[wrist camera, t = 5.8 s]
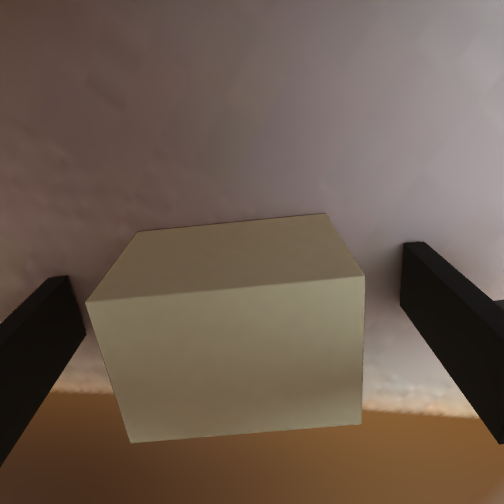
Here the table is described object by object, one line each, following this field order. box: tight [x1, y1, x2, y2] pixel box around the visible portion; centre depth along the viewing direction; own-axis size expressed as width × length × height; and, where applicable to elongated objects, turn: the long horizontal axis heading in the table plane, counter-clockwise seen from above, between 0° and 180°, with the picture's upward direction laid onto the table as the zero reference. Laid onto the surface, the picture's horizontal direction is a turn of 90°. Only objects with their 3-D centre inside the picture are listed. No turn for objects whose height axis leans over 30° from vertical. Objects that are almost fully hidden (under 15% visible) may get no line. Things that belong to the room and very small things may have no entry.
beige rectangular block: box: [85, 213, 365, 443], centre depth 13 cm, size 7×5×5 cm
